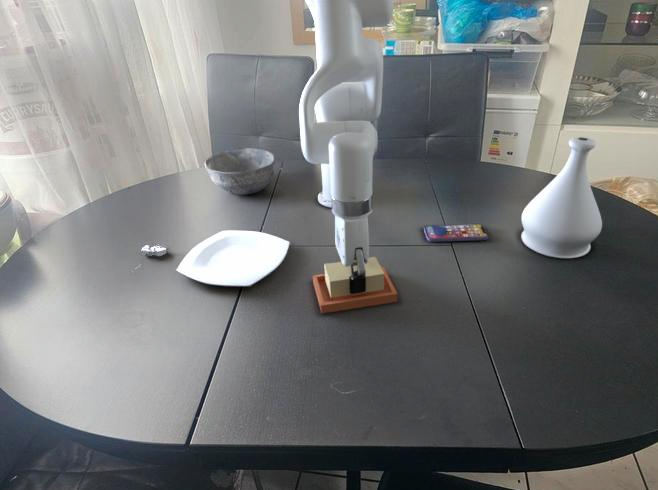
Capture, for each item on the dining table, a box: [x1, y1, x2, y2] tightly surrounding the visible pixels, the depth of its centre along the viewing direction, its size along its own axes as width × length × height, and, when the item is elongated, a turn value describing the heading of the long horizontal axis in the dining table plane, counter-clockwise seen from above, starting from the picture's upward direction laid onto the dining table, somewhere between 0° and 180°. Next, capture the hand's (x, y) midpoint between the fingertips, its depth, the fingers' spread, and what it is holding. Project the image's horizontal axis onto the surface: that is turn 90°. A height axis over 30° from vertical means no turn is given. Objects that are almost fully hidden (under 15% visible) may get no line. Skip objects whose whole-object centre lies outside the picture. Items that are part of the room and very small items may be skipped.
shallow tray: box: [312, 265, 398, 314], centre depth 93 cm, size 11×16×2 cm
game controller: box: [130, 243, 168, 274], centre depth 105 cm, size 6×12×3 cm, turn 2°
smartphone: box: [423, 223, 489, 243], centre depth 112 cm, size 1×7×15 cm
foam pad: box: [323, 256, 384, 298], centre depth 91 cm, size 6×11×4 cm, turn 102°
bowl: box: [204, 147, 276, 195], centre depth 135 cm, size 21×21×10 cm
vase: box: [520, 136, 603, 259], centre depth 101 cm, size 17×17×25 cm
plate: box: [176, 229, 291, 288], centre depth 104 cm, size 23×23×2 cm
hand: (353, 281), depth 92 cm, fingers closed on foam pad, 6 cm apart
